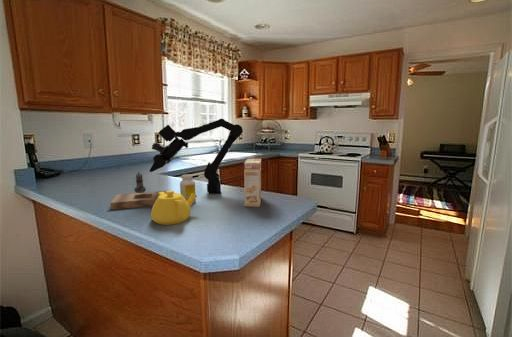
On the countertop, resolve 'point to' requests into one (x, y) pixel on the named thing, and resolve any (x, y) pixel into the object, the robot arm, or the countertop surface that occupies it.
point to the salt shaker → (139, 184)
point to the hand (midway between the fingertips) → (152, 169)
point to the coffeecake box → (252, 182)
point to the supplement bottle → (187, 186)
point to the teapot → (171, 208)
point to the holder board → (134, 200)
